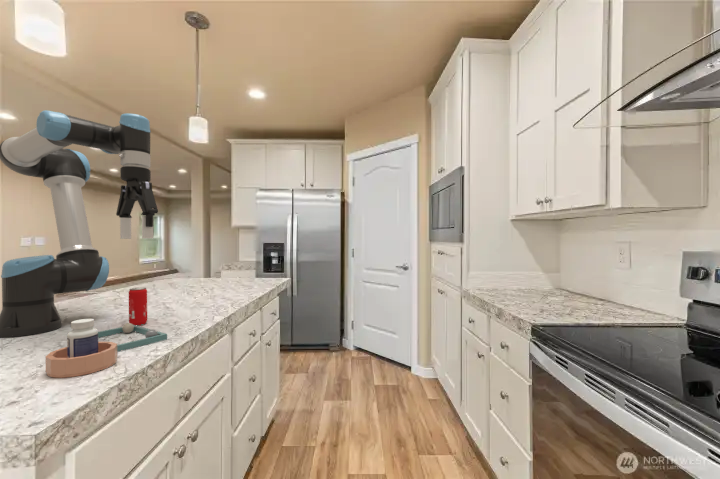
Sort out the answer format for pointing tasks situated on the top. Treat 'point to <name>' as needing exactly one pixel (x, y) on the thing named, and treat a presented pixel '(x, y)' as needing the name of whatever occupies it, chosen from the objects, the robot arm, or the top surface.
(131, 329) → the pebble
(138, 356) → the top surface
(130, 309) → the beverage can
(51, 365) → the bowl
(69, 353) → the pill bottle
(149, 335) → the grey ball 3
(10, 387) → the top surface
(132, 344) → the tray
